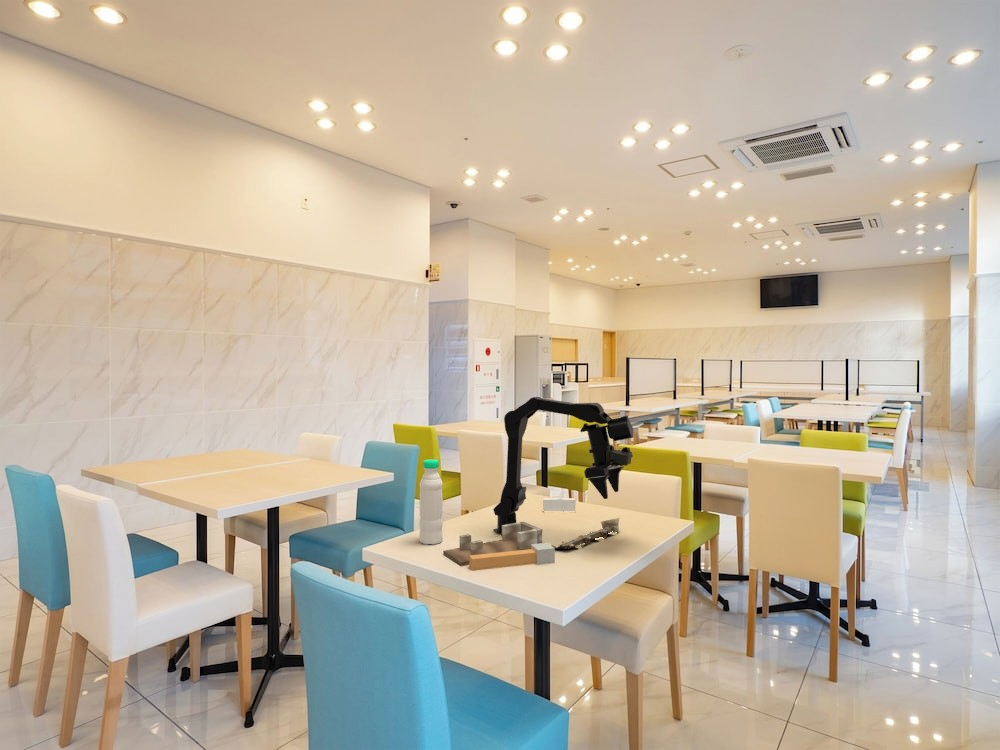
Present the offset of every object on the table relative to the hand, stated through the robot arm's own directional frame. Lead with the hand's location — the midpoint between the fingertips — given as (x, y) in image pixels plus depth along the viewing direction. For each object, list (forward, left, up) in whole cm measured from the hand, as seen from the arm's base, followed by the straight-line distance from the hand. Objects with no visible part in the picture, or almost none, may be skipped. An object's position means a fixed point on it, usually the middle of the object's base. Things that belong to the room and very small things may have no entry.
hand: (611, 495), depth 162 cm
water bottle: (-32, -44, -15) cm, 57 cm away
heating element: (-8, -2, -16) cm, 18 cm away
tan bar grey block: (-3, -34, -15) cm, 38 cm away
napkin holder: (-38, +11, -16) cm, 43 cm away
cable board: (-14, -33, -15) cm, 39 cm away
